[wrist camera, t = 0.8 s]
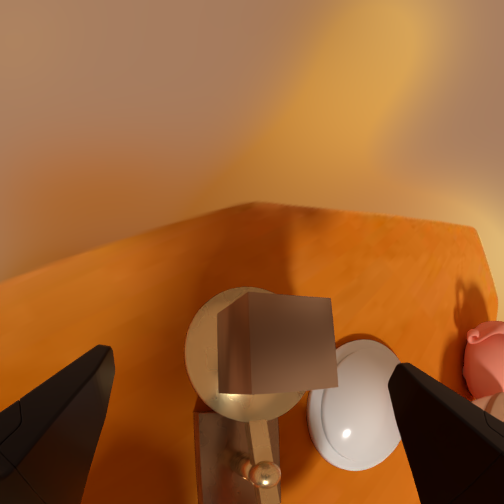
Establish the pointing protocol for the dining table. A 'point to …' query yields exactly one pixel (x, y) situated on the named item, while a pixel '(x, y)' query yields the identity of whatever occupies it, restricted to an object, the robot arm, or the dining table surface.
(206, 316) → the balance
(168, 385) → the dining table surface
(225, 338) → the block
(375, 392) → the dish
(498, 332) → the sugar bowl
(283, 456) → the dining table surface
